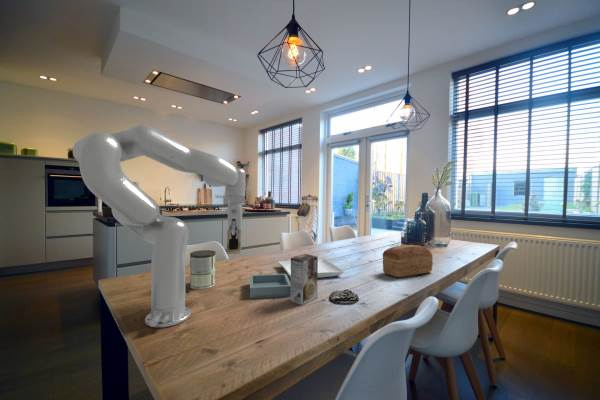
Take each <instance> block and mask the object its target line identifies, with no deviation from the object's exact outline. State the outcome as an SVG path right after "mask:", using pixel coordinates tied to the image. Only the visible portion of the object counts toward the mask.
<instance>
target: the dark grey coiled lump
mask: <svg viewBox="0 0 600 400" xmlns="http://www.w3.org/2000/svg"><path fill="white" fill-rule="evenodd" d="M328 300H329V302H330V303H332V304H334V305H340V306H351V305H352V306H353V305H355V304H357V303H358V302H359V300H360V299H359V295H358V294H357V293H355V292H354V291H352V290H351V289H348V288H346V289H344V290H334V291H332V292H331V293H330V294H329V297H328Z"/></svg>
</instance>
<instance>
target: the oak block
mask: <svg viewBox="0 0 600 400" xmlns="http://www.w3.org/2000/svg"><path fill="white" fill-rule="evenodd" d="M231 230H232V229H231ZM235 230H237V229H235ZM229 239H230V231H229V230H228V229H227V230H226V255H240V254H241V253H242V230H241V231H240V229H239V230H238V236H237V239H238V249H235V250H230V249H229Z"/></svg>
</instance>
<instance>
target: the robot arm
mask: <svg viewBox="0 0 600 400" xmlns="http://www.w3.org/2000/svg"><path fill="white" fill-rule="evenodd" d="M72 155H73V158H74V159H75V161H77V162H78V165H79V170H80V171H79V172H80V175H81V178H82V181H83V183H84V184H85V186H86V187H87V189H88V190H89V191H90V192H91V193H92V194H93V195H94V196H95V197H96V198H98V199H99V200H101V202H103V203H104V204H105V205H107V206H108V207H109V208H111V214H112V216H113V218H114V219H115V220H116V221H117V222H118V223H119V224H121V225H122V226H123V227H125V228H126V229H128V230H129V231H130V232H132V233H133V234H135V235H136V236H138V237H139V238H140V239H142V240H143V241H145V242H147V243H149V244H151V245H154V247H153V251H152V255H151V265H150V266H151V267H150V270H151V272H150V273H151V279H150V280H151V282H150V286H151V287H150V288H151V291H150V294H151V296H150V297H151V299H150V300H151V301H150V302H151V303H150V305H151V306H150V310H151V311H150V313H148V314H147V315H146V316H145V318H144V324H145V325H146V326H149V327H151V328H167V327H172V326H175V325H179V324H182V323H183V322H185V321H186V320H188V319H189V318H190V317H191V309H190V308H188V307H186V260H187V259H186V257H187V255H186V254H187V247H188V242H189V228H188V226H187V224H186V223H185V221H183V220H181V219H180V218H177V217H173V216H164V215H162V214H161V213H160V206H159V204H158V203H157V202H156V200H155V199H154V198H152V197H151V196H150V195H149V194H147V192H145V191H144V190H143V189H141V188H140V187H139V186H138V185H136V184H135V183H134V182H133V181H132V180H131V179H130V178H129V177H128V176H127V175H125V173H124V171H123V169H122V166H121V165H122V164H121V163H122V162H125V161H128V160H132V159H135V158H140V157H144V156H145V157H147V158H149V159H151V160H152V161H156V162H158V163H160V164H162V165H164V166H166V167H169V168H171V169H173V170H174V171H175V170H176V171H178V172H183V173H187V174H188V173H189V174H197V175H201V176H202V180H203V182H204V183H205V184H206V185H207V186H210V187H213V188H217V187H225V188H224V189H225V190H224V205H227V230H229V231H230V239H229V249H230V250H235V249H238V239H237V236H238V230H239V229H240V231H241V232H242V230H243V206H244V205H245V206H246V182H247V181H246V175H247V174H246V170H245V169H242V168H237V167H235V166H234V165H232V164H231V163H229V162H227V161H226V160H224V159H222V158H221V157H219V156H216V155H213V154H211V153H208V152H205V151H201V150H200V149H196V148H193V147H190V146H188V145H186V144H185V143H182V142H180V141H179V140H176V139H174V138H173V137H171V136H170V135H167V134H166V133H163V132H162V131H160V130H158V129H156V128H154V127H153V126H151V125H147V124H138V125H136V126H133V127H130V128H128V129H126V130H121V131H117V132H113V133H107V132H103V131H102V132H101V131H97V132H92V133H89V134H87V135H85V136H84V137H82V138H79V139H78V140H77V141H76V142H75V143H74V145H73V147H72ZM231 229H232V230H231ZM235 229H237V230H235Z"/></svg>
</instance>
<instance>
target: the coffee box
mask: <svg viewBox="0 0 600 400" xmlns="http://www.w3.org/2000/svg"><path fill="white" fill-rule="evenodd" d="M318 259H319V257H318V255H317V256H316V255H312V254H306V253H304V254H301V255H296V256H293V257H290V260H291V277H290V283H291V290H290V296H289V297H290V298H289V299H290V301H291V302H293V303H295V304H298V305H301V306H305V305H306V304H308V303H310V302H313V301H315V300H316V299H318V279H319V278H318Z"/></svg>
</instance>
